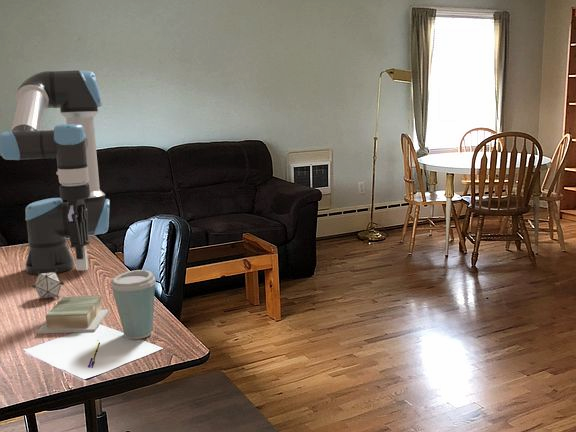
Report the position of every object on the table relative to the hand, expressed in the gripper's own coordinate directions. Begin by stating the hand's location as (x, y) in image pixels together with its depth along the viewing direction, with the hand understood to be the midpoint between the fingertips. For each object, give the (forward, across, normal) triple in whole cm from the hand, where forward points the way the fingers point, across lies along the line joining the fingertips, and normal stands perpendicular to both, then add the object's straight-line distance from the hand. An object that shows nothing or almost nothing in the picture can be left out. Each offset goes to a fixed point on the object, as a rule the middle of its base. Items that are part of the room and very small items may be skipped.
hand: (82, 269), depth 169 cm
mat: (+11, +11, 0) cm, 16 cm away
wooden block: (+8, +3, 0) cm, 9 cm away
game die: (+11, -9, -13) cm, 19 cm away
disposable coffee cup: (+11, +21, +18) cm, 30 cm away
